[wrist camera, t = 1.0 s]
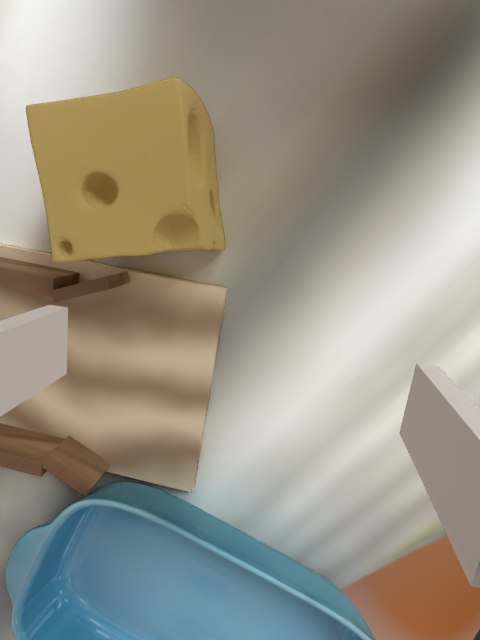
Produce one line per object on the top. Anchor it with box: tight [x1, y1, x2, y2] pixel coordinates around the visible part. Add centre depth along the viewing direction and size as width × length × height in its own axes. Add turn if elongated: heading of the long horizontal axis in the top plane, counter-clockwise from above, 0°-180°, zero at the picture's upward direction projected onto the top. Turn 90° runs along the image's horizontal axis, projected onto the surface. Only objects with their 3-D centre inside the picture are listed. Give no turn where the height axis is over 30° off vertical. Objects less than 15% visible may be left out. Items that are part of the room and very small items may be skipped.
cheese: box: [26, 78, 225, 263], centre depth 30 cm, size 10×11×10 cm
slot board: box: [0, 244, 228, 497], centre depth 36 cm, size 20×28×6 cm
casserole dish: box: [5, 482, 376, 640], centre depth 40 cm, size 37×22×7 cm, turn 62°
